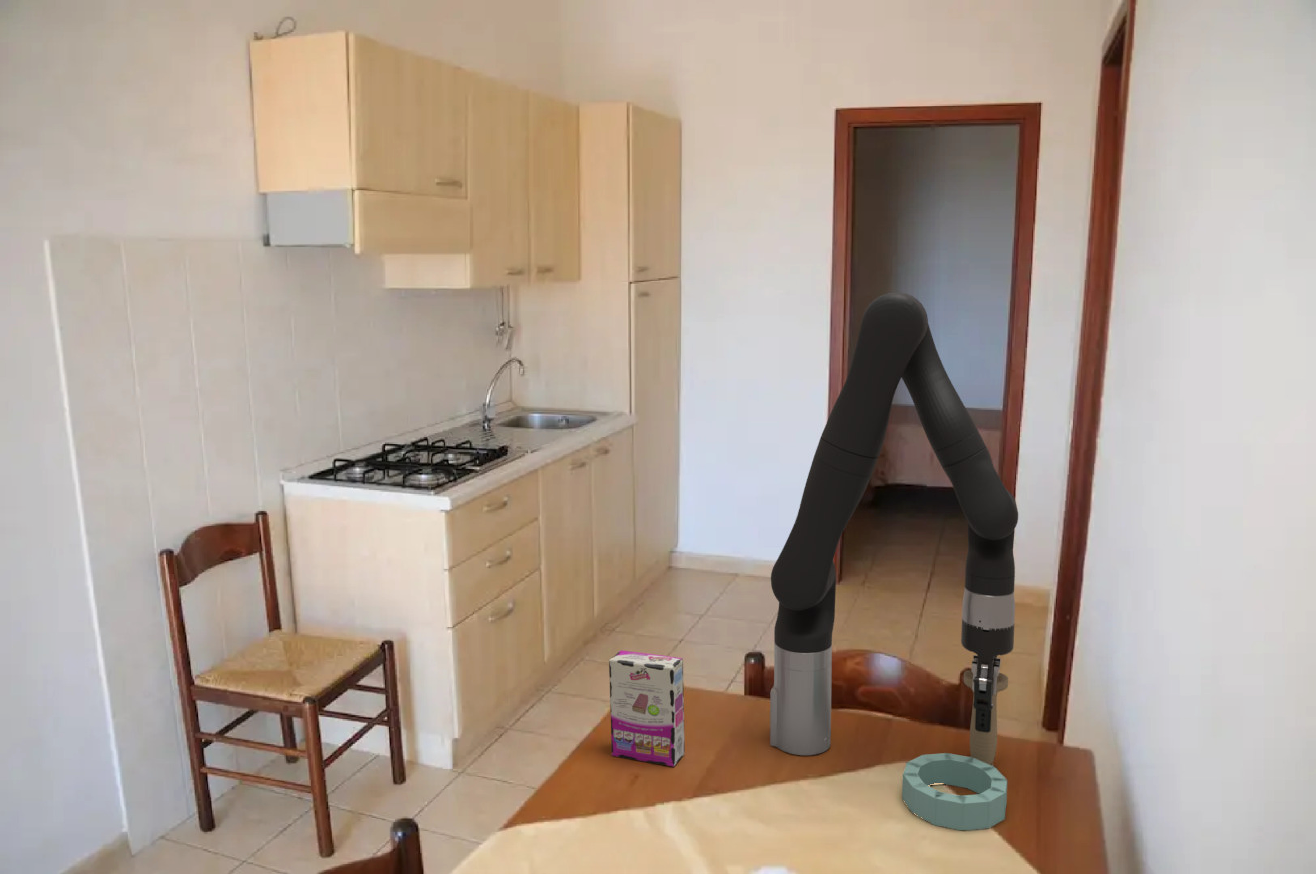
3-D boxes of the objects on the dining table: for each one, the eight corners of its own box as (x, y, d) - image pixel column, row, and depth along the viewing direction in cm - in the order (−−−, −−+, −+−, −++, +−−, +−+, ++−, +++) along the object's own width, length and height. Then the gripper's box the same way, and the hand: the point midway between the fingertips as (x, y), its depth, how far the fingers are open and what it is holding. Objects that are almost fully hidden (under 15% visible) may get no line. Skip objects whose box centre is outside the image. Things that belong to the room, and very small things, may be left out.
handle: (1005, 778, 143) (1009, 684, 141) (960, 773, 145) (964, 680, 143) (1003, 763, 148) (1007, 672, 146) (960, 758, 150) (963, 668, 148)
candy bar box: (685, 754, 153) (685, 657, 150) (674, 768, 148) (673, 668, 146) (622, 742, 157) (620, 648, 154) (609, 756, 152) (607, 659, 150)
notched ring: (896, 818, 133) (896, 791, 133) (910, 771, 146) (911, 747, 145) (1002, 839, 128) (1003, 811, 127) (1008, 788, 141) (1009, 763, 140)
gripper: (966, 601, 151) (962, 703, 153) (957, 630, 138) (953, 741, 141) (1016, 606, 148) (1012, 710, 150) (1012, 636, 135) (1007, 750, 138)
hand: (983, 724), depth 145 cm, fingers closed on handle, 3 cm apart
